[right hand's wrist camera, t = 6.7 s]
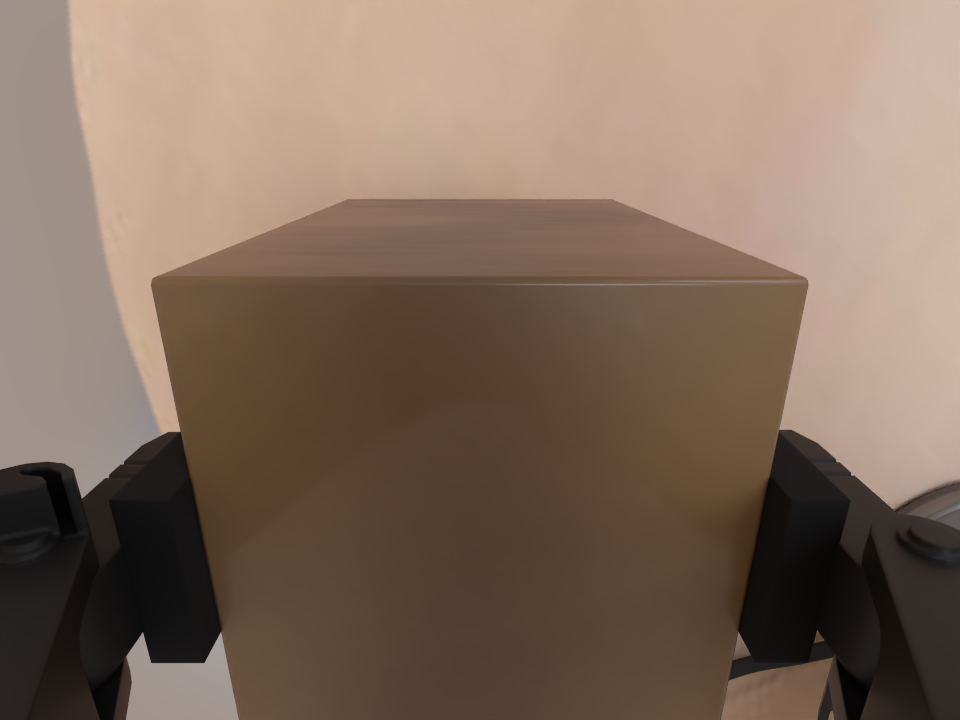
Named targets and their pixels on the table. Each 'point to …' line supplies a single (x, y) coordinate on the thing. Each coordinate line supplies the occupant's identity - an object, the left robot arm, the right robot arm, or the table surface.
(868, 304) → the table surface
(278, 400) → the block
